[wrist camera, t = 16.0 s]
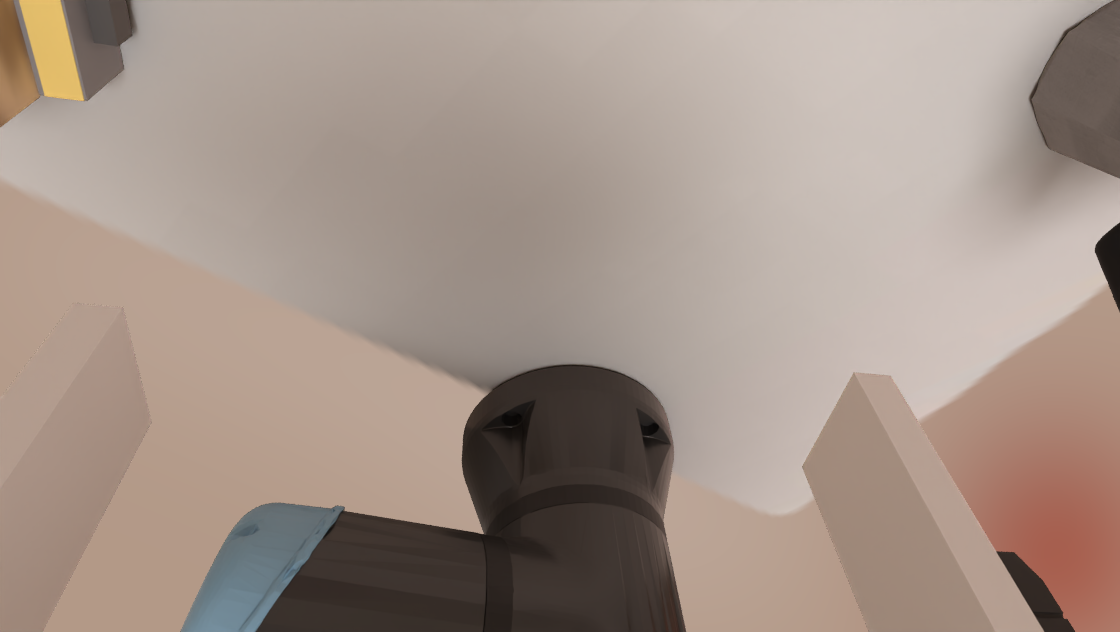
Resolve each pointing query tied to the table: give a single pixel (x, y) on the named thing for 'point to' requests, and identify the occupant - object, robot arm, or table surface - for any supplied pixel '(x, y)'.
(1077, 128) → the coffeepot
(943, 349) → the table surface
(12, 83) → the pallet
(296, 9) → the table surface
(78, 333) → the robot arm
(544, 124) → the table surface
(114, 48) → the block
